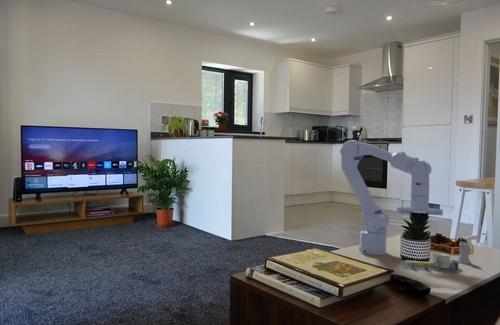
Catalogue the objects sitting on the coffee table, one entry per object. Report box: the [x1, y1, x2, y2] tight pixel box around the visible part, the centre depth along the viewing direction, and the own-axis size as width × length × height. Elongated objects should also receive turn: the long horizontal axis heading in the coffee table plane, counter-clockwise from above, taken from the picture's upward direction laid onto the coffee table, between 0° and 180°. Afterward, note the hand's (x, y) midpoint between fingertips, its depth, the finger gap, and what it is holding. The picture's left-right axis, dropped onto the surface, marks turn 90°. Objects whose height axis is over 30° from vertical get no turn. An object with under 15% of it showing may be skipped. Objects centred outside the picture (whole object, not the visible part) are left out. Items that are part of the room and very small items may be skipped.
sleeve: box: [432, 252, 451, 268], centre depth 121 cm, size 4×4×4 cm
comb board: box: [397, 259, 463, 274], centre depth 121 cm, size 17×10×3 cm, turn 80°
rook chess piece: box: [456, 241, 472, 265], centre depth 127 cm, size 4×4×8 cm
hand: (418, 234), depth 128 cm, fingers closed
